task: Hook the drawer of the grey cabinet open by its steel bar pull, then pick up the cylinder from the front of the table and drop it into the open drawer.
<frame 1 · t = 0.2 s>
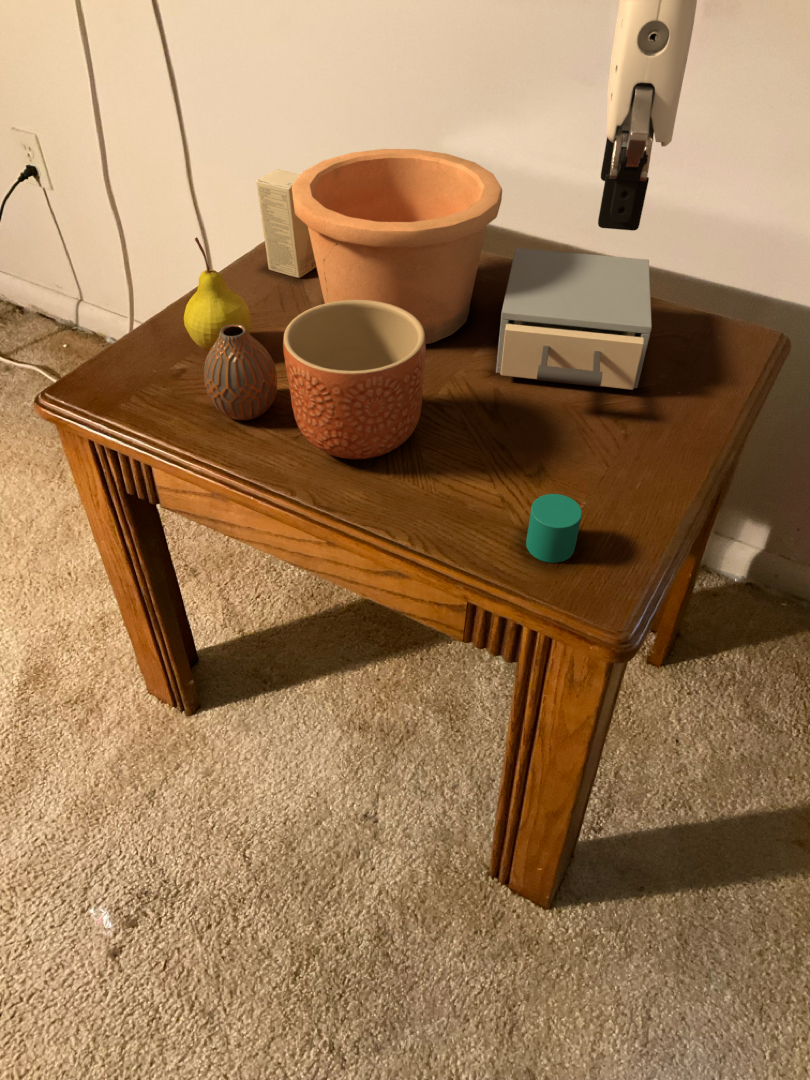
hand: (618, 203, 69), 20 cm above the table, tool pointing down, fingers open, 9 cm apart
planter: (358, 436, 79), on the table
cylinder: (550, 545, 68), on the table
fruit: (223, 351, 89), on the table
drawer: (571, 338, 84), point 4 cm above the table, slide at 0.5 cm
box: (293, 269, 103), on the table
vase: (246, 410, 82), on the table
grey cabinet: (569, 344, 90), on the table
pottery: (397, 312, 95), on the table
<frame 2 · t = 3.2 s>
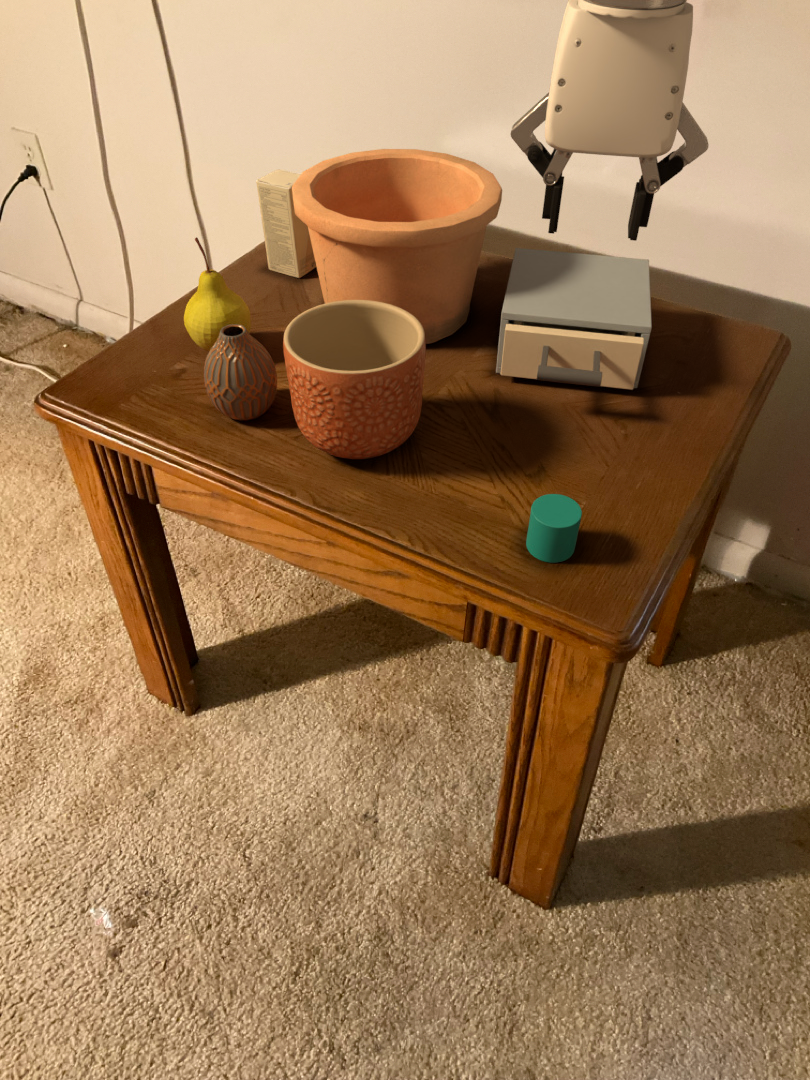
hand: (592, 228, 71), 18 cm above the table, tool pointing down, fingers open, 6 cm apart
nothing on the table moved.
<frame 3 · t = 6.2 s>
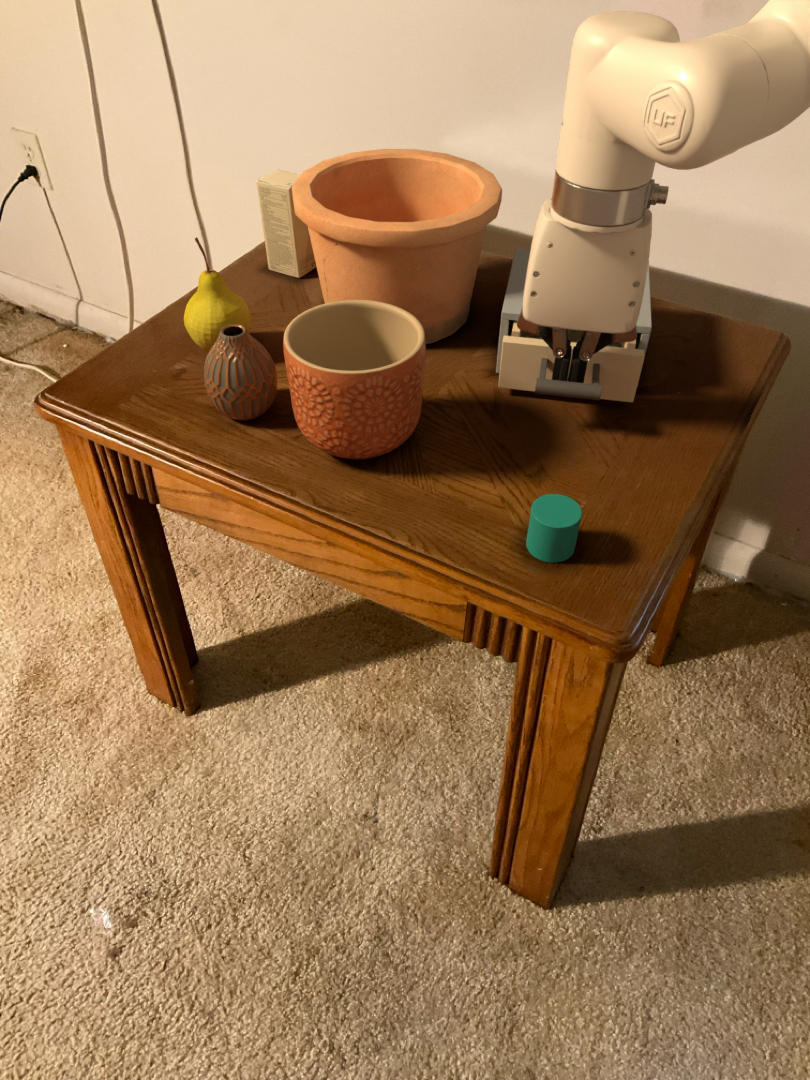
hand: (566, 387, 79), 3 cm above the table, tool pointing down, fingers closed
drawer: (570, 350, 83), point 4 cm above the table, slide at 2.8 cm, touching gripper
everything else where it was.
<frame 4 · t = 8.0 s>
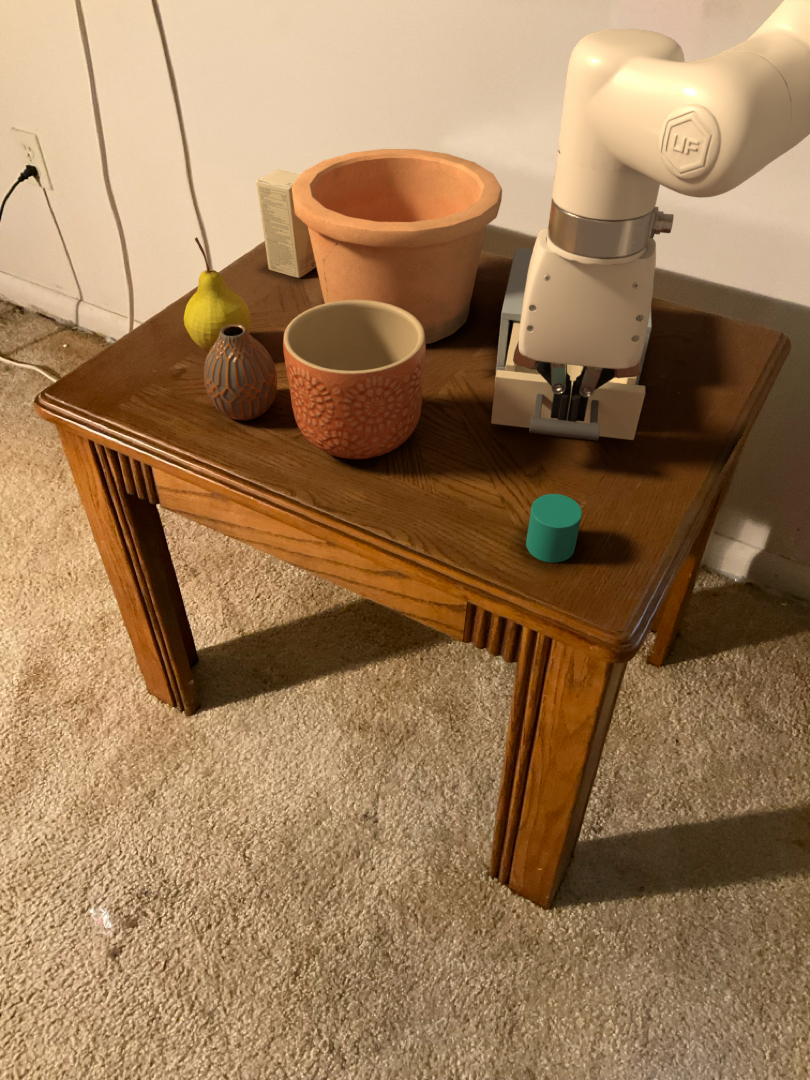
hand: (566, 424, 74), 3 cm above the table, tool pointing down, fingers closed
drawer: (567, 384, 78), point 4 cm above the table, slide at 8.9 cm
everything else where it was.
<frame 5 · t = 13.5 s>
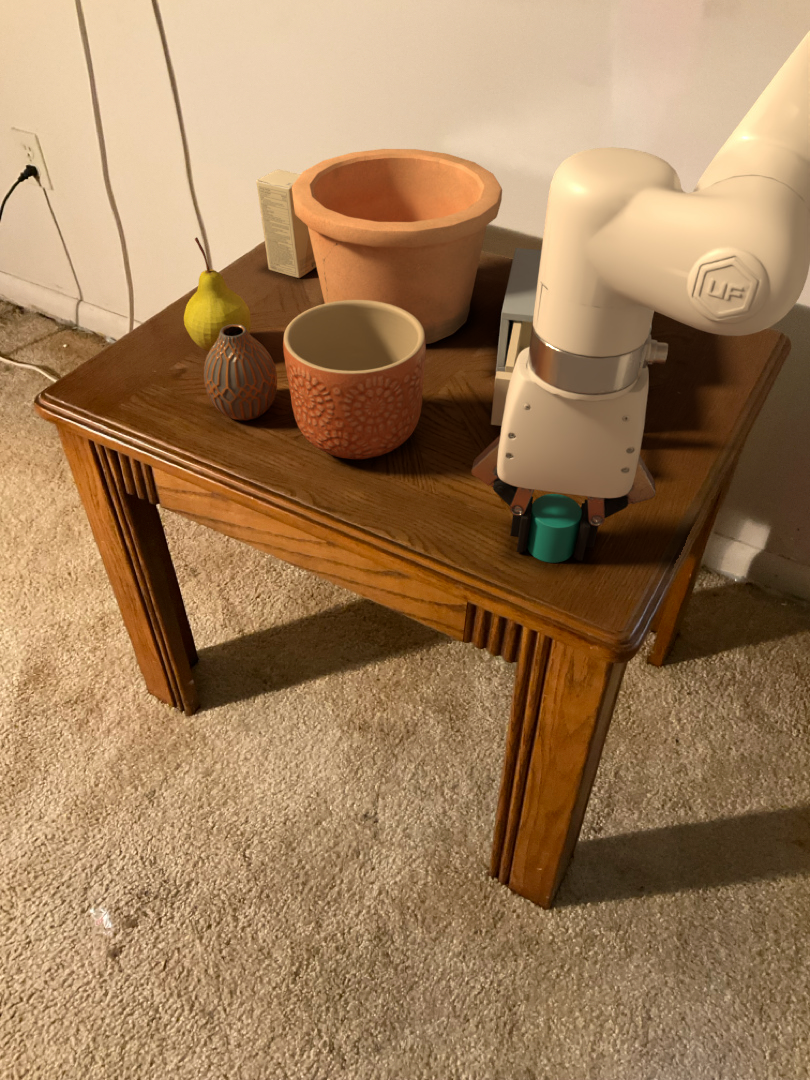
hand: (550, 543, 68), 0 cm above the table, tool pointing down, fingers closed on cylinder, 4 cm apart
cylinder: (550, 545, 68), on the table, touching gripper
everything else where it was.
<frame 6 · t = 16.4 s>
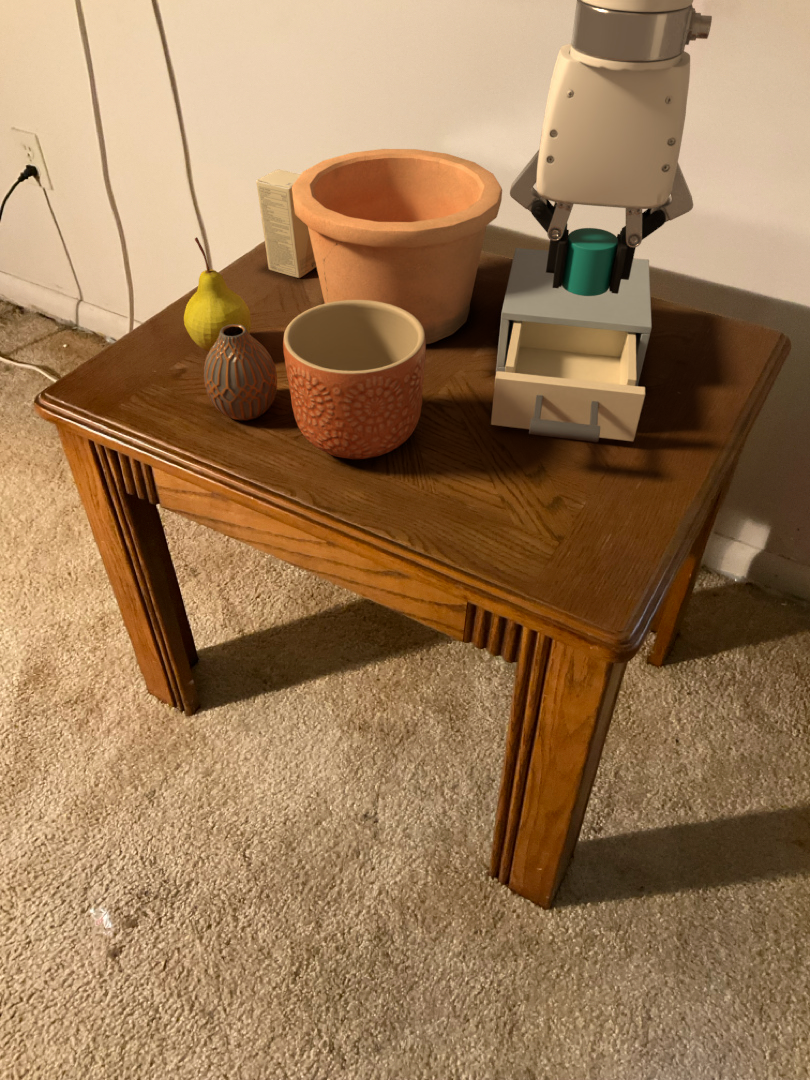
hand: (585, 281, 68), 15 cm above the table, tool pointing down, fingers closed on cylinder, 4 cm apart
cylinder: (585, 284, 68), point 15 cm above the table, touching gripper
everything else where it was.
when the fingers open (6 cm above the table, at t = 19.4 s): cylinder drops 4 cm, resting on drawer.
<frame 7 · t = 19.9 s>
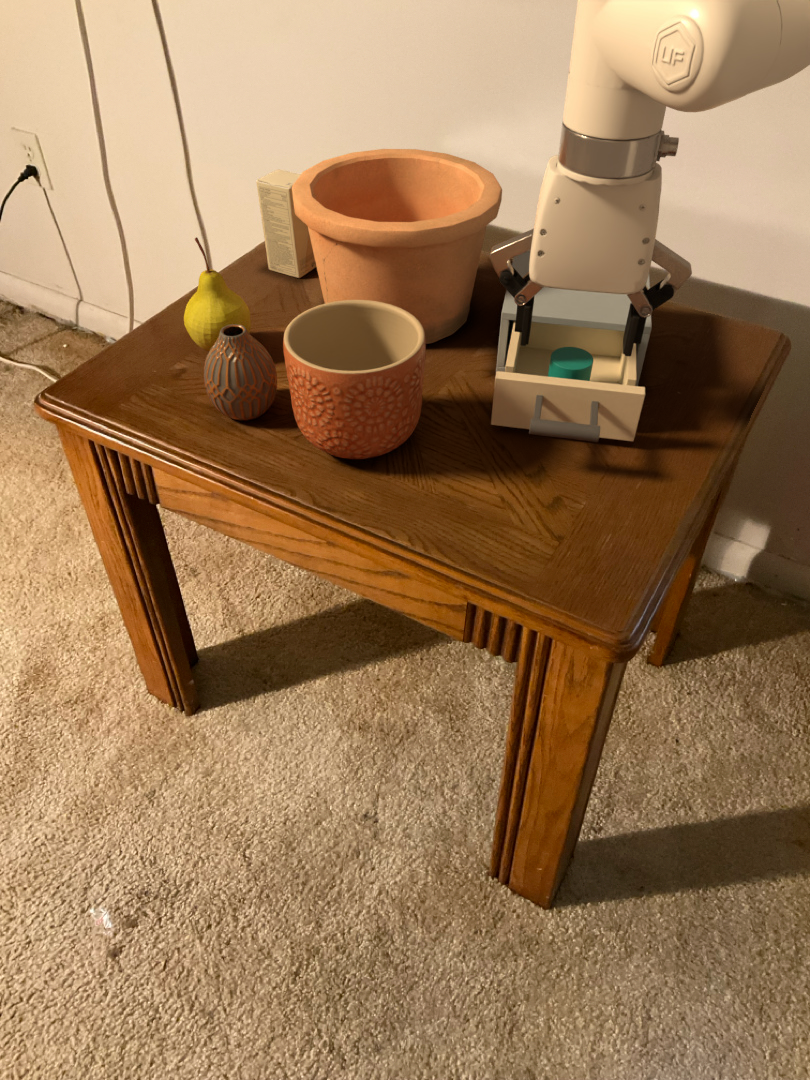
hand: (575, 343, 76), 8 cm above the table, tool pointing down, fingers open, 9 cm apart
cylinder: (566, 393, 80), point 2 cm above the table, touching drawer
drawer: (567, 385, 78), point 4 cm above the table, slide at 9.1 cm, touching cylinder
everything else where it was.
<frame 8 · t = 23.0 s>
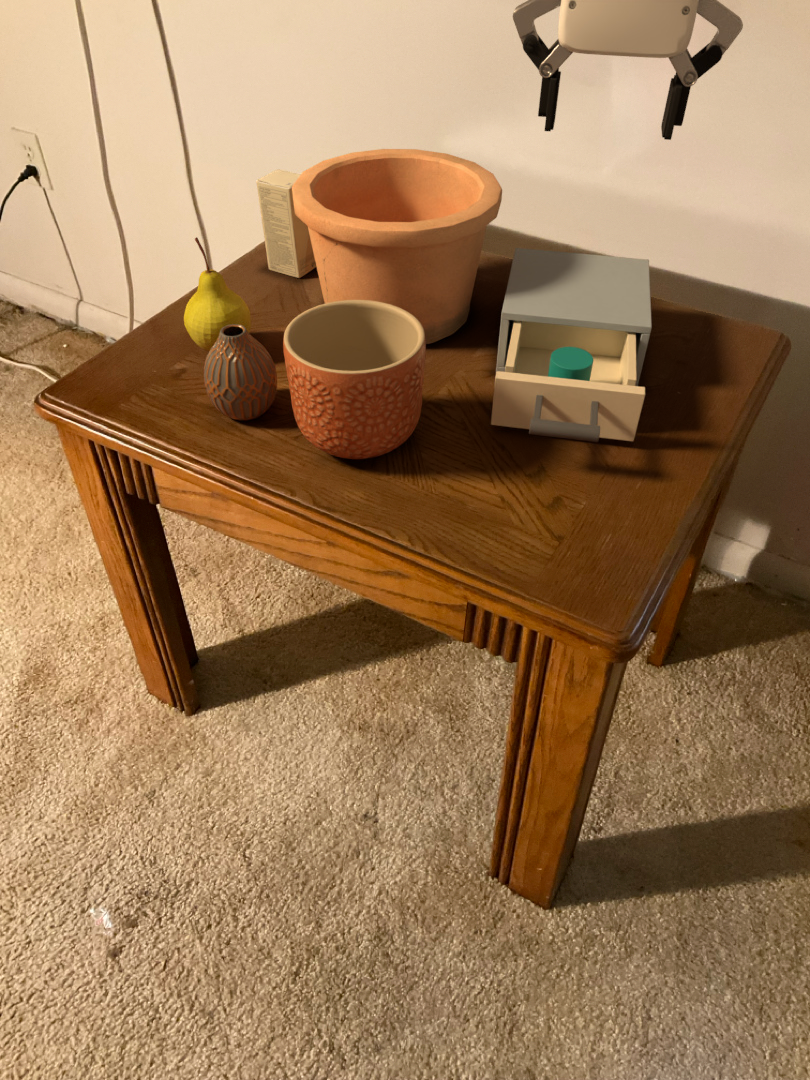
hand: (607, 130, 69), 24 cm above the table, tool pointing down, fingers open, 9 cm apart
nothing on the table moved.
at the end: drawer slide at 9.1 cm; cylinder inside the target area in the drawer (2.0 cm from its centre), point 2.0 cm above the grey cabinet's base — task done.
